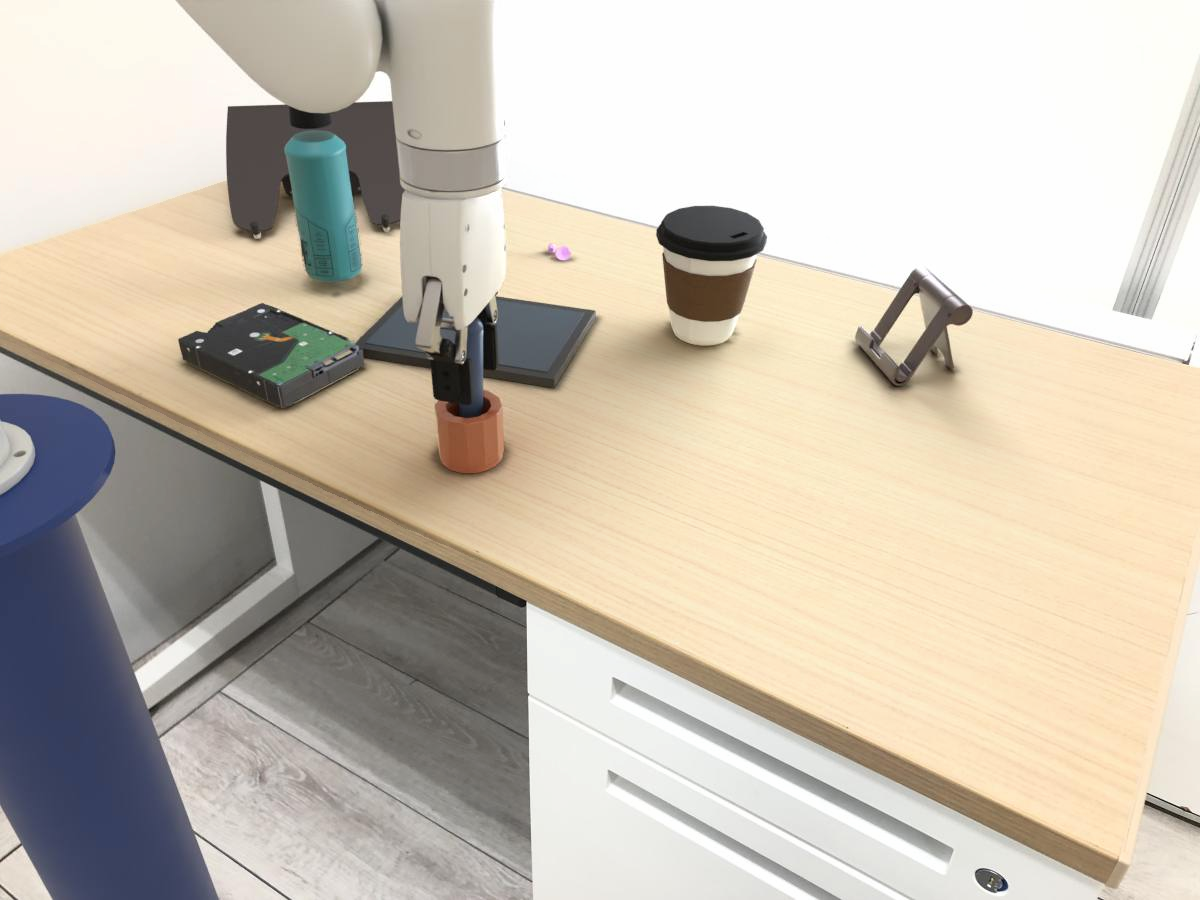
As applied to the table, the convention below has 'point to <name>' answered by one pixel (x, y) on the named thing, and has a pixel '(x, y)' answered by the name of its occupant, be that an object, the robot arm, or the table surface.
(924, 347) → the tablet stand
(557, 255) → the pink pawn
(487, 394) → the pen pot
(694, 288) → the coffee cup
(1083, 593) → the table surface
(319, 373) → the disk drive
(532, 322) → the tablet
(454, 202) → the robot arm
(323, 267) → the beverage bottle
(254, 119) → the laptop tray
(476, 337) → the blue rounded rod
